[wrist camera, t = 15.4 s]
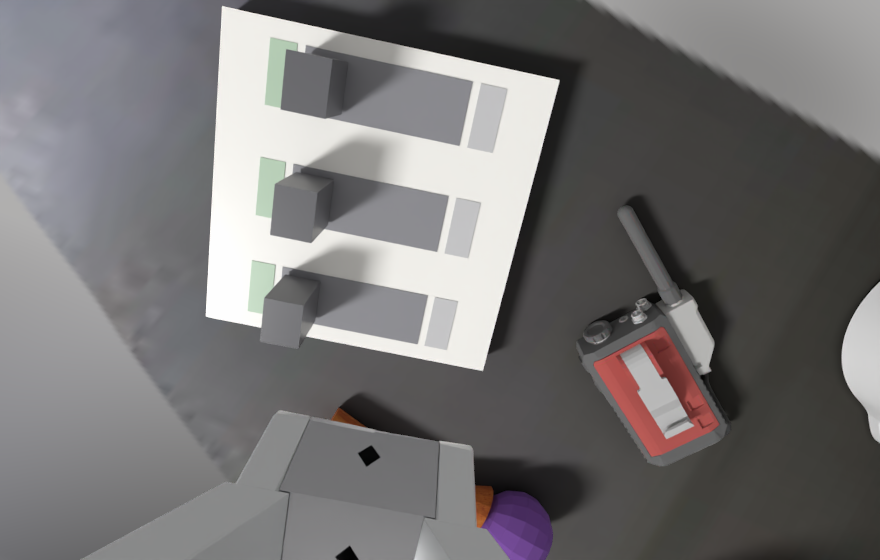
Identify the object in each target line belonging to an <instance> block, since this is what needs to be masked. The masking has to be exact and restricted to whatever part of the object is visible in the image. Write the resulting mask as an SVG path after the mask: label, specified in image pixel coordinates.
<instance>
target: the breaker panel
mask: <svg viewBox="0 0 880 560" xmlns="http://www.w3.org/2000/svg"><path fill="white" fill-rule="evenodd" d="M286 49H288V50H294V51H299V52H304V53H309V54H314V55H318V56H323V57H328V58H332V59H337V60H341V61H346V62H348V69H347V76H346V84H345V91H344V99H343V107H342V114H341V115H338V116H334V117H331V118H327V119H323V118H318V117H313V116H309V115H304V114H299V113H294V112H290V111H285V110H280V109H281V98H282V87H283V76H284V66H285V55H286ZM559 81H560V80H557V79H552V78H548V77H543V76H538V75H534V74H529V73H525V72H520V71H516V70H511V69H507V68H502V67H497V66H493V65H488V64H484V63H479V62H475V61H470V60H465V59H461V58H456V57H452V56H447V55H443V54H438V53H434V52H429V51H424V50H420V49H415V48H411V47H406V46H402V45H397V44H392V43H388V42H383V41H379V40H374V39H370V38H365V37H360V36H356V35H351V34H347V33H342V32H338V31H333V30H329V29H324V28H319V27H315V26H310V25H306V24H301V23H297V22H292V21H287V20H283V19H278V18H274V17H269V16H265V15H260V14H256V13H251V12H246V11H242V10H237V9H233V8H228V7H224V6H222V19H221V38H220V57H219V76H218V95H217V114H216V133H215V152H214V171H213V190H212V209H211V228H210V247H209V266H208V285H207V304H206V317H210V318H215V319H220V320H225V321H230V322H235V323H241V324H246V325H251V326H256V327H261V326H262V315H263V305H264V297H265V296H266V295H267V294H268V293H269V292H270V291H271V290H272V289H273V287H274V286H275V285H276V284H277V283H278V282H279V281H280V280H281V279H282V277H283V276H284V275H285V274H286V275H291V276H296V277H301V278H306V279H311V280H316V281H320V289H319V297H318V304H317V312H316V319H315V322H314V324H313V325H312V327H311V329H310V330H309V332H308V334H307V335H306V336H307V337H312V338H317V339H322V340H327V341H333V342H338V343H343V344H348V345H353V346H358V347H363V348H368V349H373V350H379V351H384V352H389V353H394V354H399V355H404V356H409V357H414V358H419V359H425V360H430V361H435V362H440V363H445V364H450V365H455V366H460V367H465V368H471V369H476V370H481V371H483V368H484V365H485V361H486V357H487V353H488V349H489V346H490V342H491V338H492V334H493V331H494V327H495V323H496V319H497V315H498V312H499V308H500V304H501V300H502V297H503V293H504V289H505V285H506V281H507V278H508V274H509V270H510V266H511V263H512V259H513V255H514V251H515V247H516V244H517V240H518V236H519V232H520V229H521V225H522V221H523V217H524V213H525V210H526V206H527V202H528V198H529V194H530V191H531V187H532V183H533V179H534V176H535V172H536V168H537V164H538V160H539V157H540V153H541V149H542V145H543V142H544V138H545V134H546V130H547V126H548V123H549V119H550V115H551V111H552V108H553V104H554V100H555V96H556V92H557V89H558V85H559ZM295 172H299V173H304V174H309V175H314V176H319V177H323V178H328V179H333V180H334V184H333V191H332V199H331V206H330V214H329V221H328V226H327V227H326V228H325V229H324V230H323V231H322V232H321V233H320V234H319V235H318V237H317V238H316V239H315V240H314V241H313V242H312V243H307V242H302V241H298V240H293V239H288V238H283V237H278V236H273V235H270V230H271V219H272V209H273V198H274V187H275V183H277V182H279V181H281V180H283V179H284V178H286V177H288V176H290V175H292V174H293V173H295Z"/></svg>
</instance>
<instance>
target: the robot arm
mask: <svg viewBox="0 0 880 560" xmlns="http://www.w3.org/2000/svg"><path fill="white" fill-rule="evenodd" d="M842 368H843V373H844V376H845V379H846V382H847V384H848V386H849V388H850V390H851V391H852V393H853V394H854V395H855V397H856V398H857V399H858V400H859V401H860V402H861V404H862V405H863V406H864V407H865V409H866V411H867V412H868V418H869V425H870V430H871V433H872V436H873V438H874V439H875V440H876V441H878V442H879V443H880V282H879V283H878V284H877V285H876V286H875V287H874V288H873V289H872V290H871V291H870V292H869V294H868V295H867V296H866V297H865V298H864V300H863V301H862V303H861V304H860V305H859V307H858V308H857V310H856V312H855V313H854V315H853V317H852V319H851V321H850V323H849V326H848V328H847V331H846V334H845V337H844V342H843V347H842ZM81 560H510V559H509V557H508V556H507V555H506V553H505V552H504V551H503V549H502V548H501V547H500V546H499V544H498V543H497V542H496V540H495V539H494V538H493V536H492V535H491V534H490V533H489V531H488V530H487V529H483V528H478V527H477V521H476V499H475V478H474V457H473V449H472V447H471V446H470V445H463V444H457V443H451V442H444V441H439V442H437V441H431V440H426V439H421V438H415V437H410V436H404V435H399V434H393V433H388V432H382V431H377V430H375V429H370V428H365V427H360V426H356V425H351V424H346V423H341V422H337V421H332V420H327V419H322V418H318V417H312V418H311V417H310V416H307V415H302V414H297V413H292V412H286V411H281V410H279V411H278V412H277V413H276V414H274V415H273V417H272V419H271V421H270V422H269V424H268V426H267V428H266V430H265V431H264V433H263V435H262V437H261V439H260V440H259V442H258V444H257V446H256V448H255V449H254V451H253V453H252V455H251V457H250V458H249V460H248V462H247V464H246V466H245V467H244V469H243V471H242V473H241V475H240V476H239V478H238V480H237V482H236V484H235V483H229V482H224V483H222V484H220V485H218V486H216V487H214V488H212V489H211V490H209V491H207V492H205V493H203V494H201V495H199V496H198V497H196V498H194V499H192V500H190V501H188V502H187V503H185V504H183V505H181V506H179V507H177V508H175V509H174V510H172V511H170V512H168V513H166V514H165V515H163V516H161V517H159V518H157V519H155V520H153V521H151V522H149V523H148V524H146V525H144V526H142V527H140V528H138V529H136V530H135V531H133V532H131V533H129V534H127V535H125V536H123V537H122V538H120V539H118V540H116V541H114V542H112V543H111V544H109V545H107V546H105V547H103V548H101V549H99V550H98V551H96V552H94V553H92V554H90V555H88V556H86V557H85V558H83V559H81Z"/></svg>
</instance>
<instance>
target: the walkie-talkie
mask: <svg viewBox="0 0 880 560" xmlns="http://www.w3.org/2000/svg"><path fill="white" fill-rule="evenodd" d="M617 213H618V217H619V219H620V221H621V222H622V224H623V226H624V228H625V229H626V231H627V233H628V235H629V237H630V238H631V240H632V242H633V244H634V246H635V247H636V249H637V251H638V253H639V255H640V256H641V258H642V260H643V262H644V264H645V265H646V267H647V269H648V271H649V273H650V274H651V276H652V278H653V280H654V282H655V283H656V285H657V287H658V293H659V294H660V296H661V298H662V300H661V301H659V302H657V303H656V304H654V303H651V302H649V301H647V299H646V298H642V299H639V300H638V301H637V302H636V305H637V308H636V309H634V310H632V311H631V312H629V313H627V314H625V315H623V316H621V317H620V318H618V319H616V320H614V321H612V322H610V323H609V322H608V321H604V320H602V321H596V322H594V323H592V324H590V325H589V326H588V327H587V328H586V329H585V331H584V333H583V336H584V337H583V338H581V339H579V340H577V344H576V348H577V350H578V352H579V354H580V356H579V359H580V361H581V363H582V365H583V366H584V368H585V370H586V371H587V372H589V373H590V374H591V375H592V379H593V381H594V383H595V385H596V387H597V388H598V390H599V391H600V393H603V394H604V396H605V397H606V399H607V400H608V402H609V404H610V405H611V406H612V408H613V410H614V411H615V412H616V414H617V416H618V417H619V419H620V421H621V422H622V423H623V425H624V427H625V428H626V430H627V432H628V433H629V434H630V436H631V438H632V439H633V441H634V443H635V444H636V446H637V447H638V448H639V450H640V452H641V453H642V455H643V457H644V458H645V459H646V461H647V462H648V463H651V464H654V465H657V466H666V465H669V464H671V463H673V462H675V461H678V460H680V459H682V458H684V457H686V456H688V455H690V454H693V453H695V452H697V451H699V450H701V449H703V448H705V447H708V446H710V445H712V444H714V443H716V442H718V441H720V440H721V439H722V438H723V437H724V436H726V435H728V434H729V433H730V431H731V422H730V420H729V419H728V417H727V415H726V413H725V412H724V410H723V408H722V406H721V404H720V403H719V401H718V399H717V397H716V396H715V394H714V392H713V390H712V388H711V386H710V384H709V374H708V372H710V371H711V369H710V368H709V364H710V360H711V356H712V352H713V348H714V340H713V338H712V336H711V334H710V332H709V330H708V328H707V327H706V325H705V323H704V321H703V319H702V317H701V315H700V313H699V312H698V310H697V308H698V305H697V303H696V301H695V300H694V298H693V297H692V296H691V295H690V294H689V293H688V292H687V291H686V290H685V289H681V290H679V288H678V286H677V284H676V283H675V282H673V281H672V279H671V277H670V276H669V274H668V272H667V270H666V268H665V267H664V265H663V263H662V261H661V259H660V257H659V256H658V254H657V252H656V250H655V248H654V247H653V245H652V243H651V241H650V239H649V237H648V236H647V234H646V232H645V230H644V228H643V227H642V225H641V223H640V221H639V219H638V217H637V216H636V214H635V212H634V210H633V208H632V207H631V206H628V205H624V206H622V207H620V208H619V210H618V212H617ZM700 375H701V377H700Z"/></svg>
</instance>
